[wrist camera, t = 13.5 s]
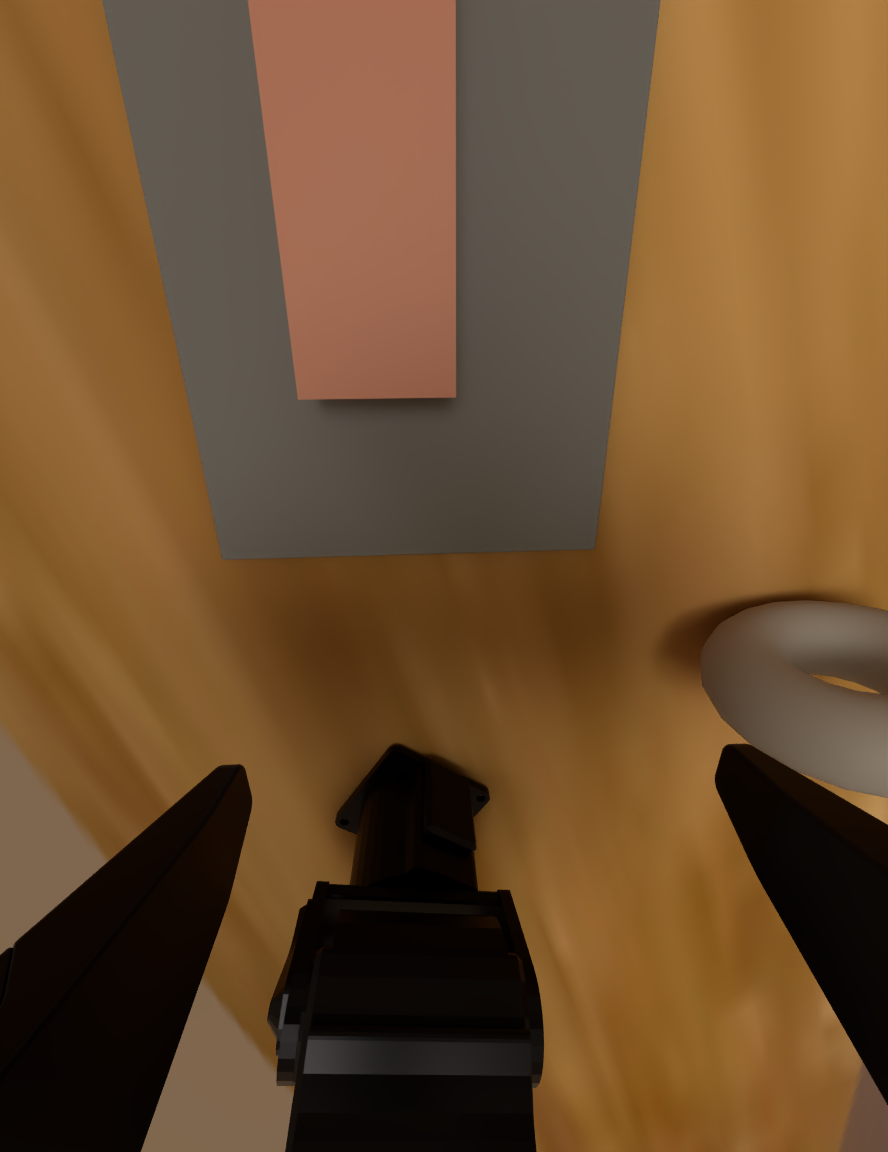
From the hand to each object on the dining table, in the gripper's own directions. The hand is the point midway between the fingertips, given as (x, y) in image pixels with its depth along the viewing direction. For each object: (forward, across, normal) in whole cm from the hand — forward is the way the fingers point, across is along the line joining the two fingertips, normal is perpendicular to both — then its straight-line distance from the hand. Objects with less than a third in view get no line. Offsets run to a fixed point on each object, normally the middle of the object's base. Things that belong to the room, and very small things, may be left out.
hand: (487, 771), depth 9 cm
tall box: (+11, +2, -6) cm, 13 cm away
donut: (+13, -15, +4) cm, 21 cm away
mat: (+13, +2, -10) cm, 16 cm away
